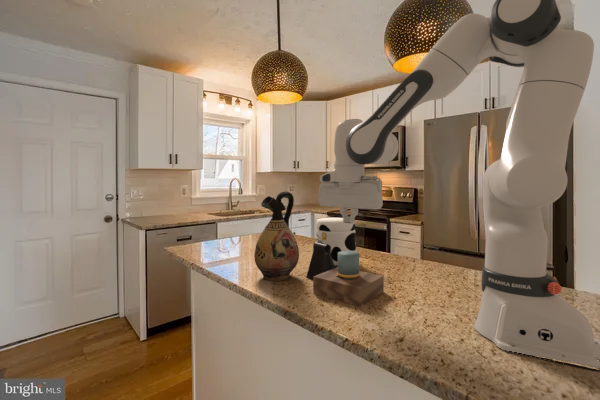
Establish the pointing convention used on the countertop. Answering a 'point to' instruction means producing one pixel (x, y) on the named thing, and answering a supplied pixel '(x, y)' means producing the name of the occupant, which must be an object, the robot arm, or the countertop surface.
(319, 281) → the board
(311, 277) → the phone stand
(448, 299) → the countertop surface
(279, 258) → the ceramic jug
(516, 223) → the robot arm
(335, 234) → the milk container
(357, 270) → the leg
